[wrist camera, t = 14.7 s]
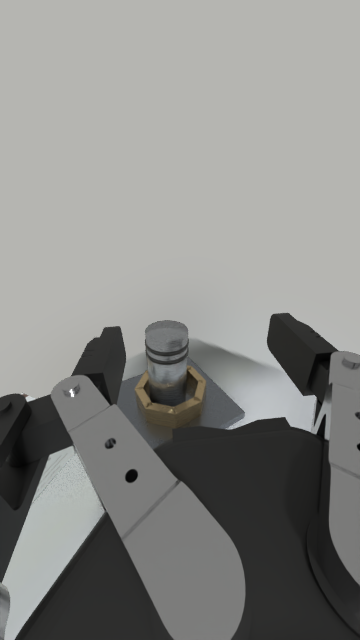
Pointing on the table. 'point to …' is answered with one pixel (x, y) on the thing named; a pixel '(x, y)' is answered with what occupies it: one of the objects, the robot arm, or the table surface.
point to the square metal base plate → (177, 407)
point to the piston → (167, 362)
